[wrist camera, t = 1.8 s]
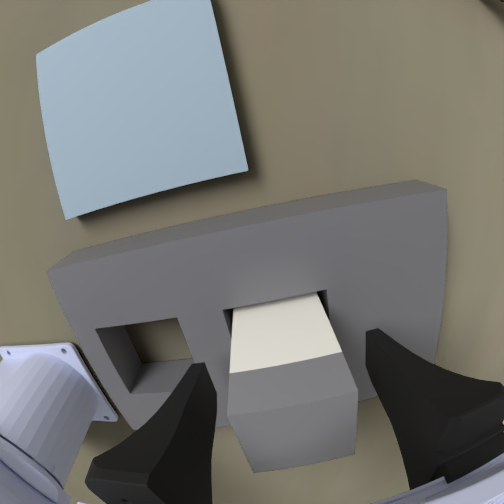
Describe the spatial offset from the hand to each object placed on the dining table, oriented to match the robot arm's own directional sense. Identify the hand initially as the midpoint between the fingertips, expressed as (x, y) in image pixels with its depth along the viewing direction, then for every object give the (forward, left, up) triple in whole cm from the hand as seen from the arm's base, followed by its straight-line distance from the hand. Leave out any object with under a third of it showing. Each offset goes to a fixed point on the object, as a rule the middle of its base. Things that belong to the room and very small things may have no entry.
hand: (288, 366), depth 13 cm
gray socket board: (-1, 0, -5) cm, 5 cm away
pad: (-5, +13, -5) cm, 15 cm away
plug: (0, 0, -5) cm, 5 cm away
